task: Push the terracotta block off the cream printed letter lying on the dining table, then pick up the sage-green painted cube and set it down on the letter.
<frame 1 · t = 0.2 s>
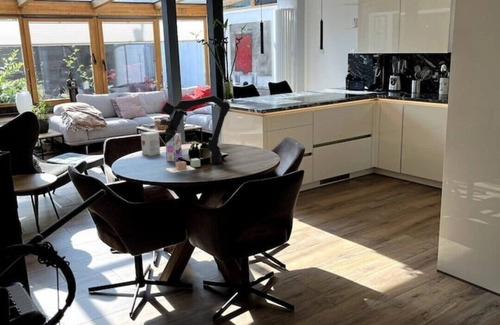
hand: (166, 141, 289), 14 cm above the table, tool tilted 30°, fingers open, 9 cm apart
terracotta block: (181, 168, 280), resting on letter
supplement box: (151, 154, 323), on the table
letter: (180, 169, 280), on the table
candy box: (174, 159, 306), on the table
green cube: (195, 166, 286), on the table
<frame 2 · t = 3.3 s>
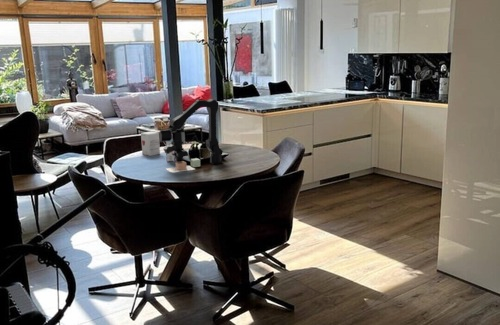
hand: (178, 165, 283), 1 cm above the table, tool pointing down, fingers closed
terracotta block: (181, 168, 280), resting on letter, touching gripper
everything else where it was.
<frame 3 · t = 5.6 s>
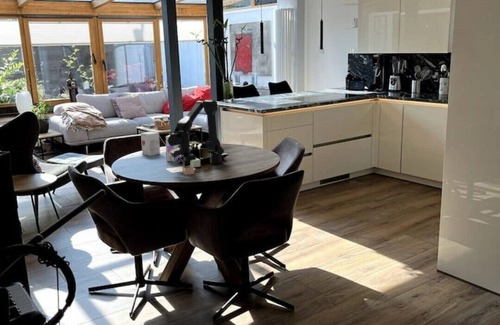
hand: (185, 169, 273), 2 cm above the table, tool pointing down, fingers closed
terracotta block: (188, 173, 270), on the table, touching gripper
everything else where it was.
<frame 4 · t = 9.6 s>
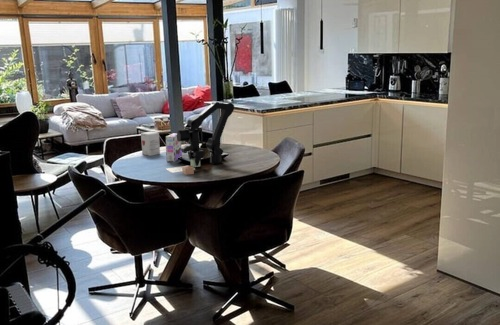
hand: (195, 164, 286), 1 cm above the table, tool pointing down, fingers closed on green cube, 4 cm apart
terracotta block: (188, 173, 270), on the table
green cube: (195, 166, 286), on the table, touching gripper
everything else where it was.
when the fingers open (2 cm above the table, at t = 13.0 s): green cube drops 1 cm, resting on letter.
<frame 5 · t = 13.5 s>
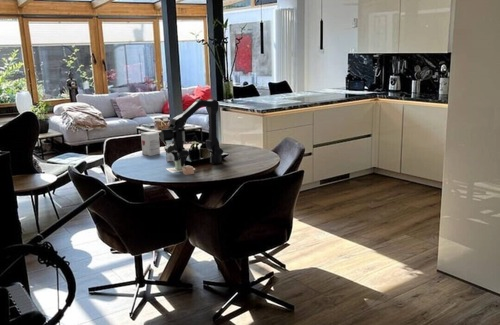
hand: (179, 164, 280), 2 cm above the table, tool pointing down, fingers open, 9 cm apart
green cube: (179, 168, 281), resting on letter
everything else where it was.
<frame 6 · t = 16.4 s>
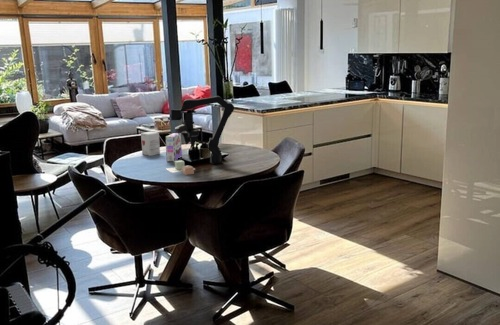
hand: (189, 145, 289), 12 cm above the table, tool pointing down, fingers open, 9 cm apart
nothing on the table moved.
at the end: green cube inside the target area on the letter (1.0 cm from its centre), point 0.2 cm above the letter's base; terracotta block touching table; the gripper is holding nothing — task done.
